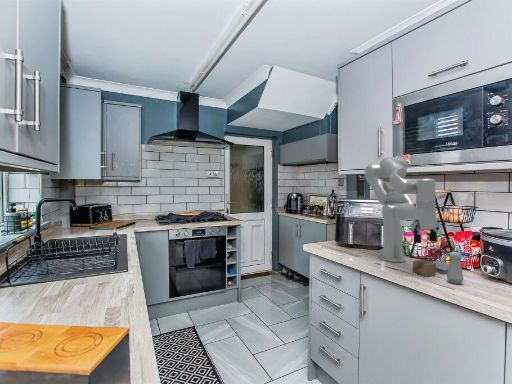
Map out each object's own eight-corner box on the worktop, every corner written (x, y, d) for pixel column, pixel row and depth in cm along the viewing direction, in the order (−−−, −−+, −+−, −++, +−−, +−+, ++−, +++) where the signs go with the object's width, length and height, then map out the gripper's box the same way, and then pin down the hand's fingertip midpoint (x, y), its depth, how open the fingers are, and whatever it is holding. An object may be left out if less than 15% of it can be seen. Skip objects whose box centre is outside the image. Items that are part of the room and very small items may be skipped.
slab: (420, 266, 136) (420, 263, 136) (437, 264, 140) (437, 260, 140) (444, 274, 124) (444, 270, 124) (462, 271, 128) (462, 267, 128)
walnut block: (412, 273, 126) (412, 260, 126) (422, 271, 129) (423, 259, 128) (425, 277, 120) (425, 264, 120) (435, 276, 122) (435, 263, 122)
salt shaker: (443, 281, 116) (444, 251, 115) (452, 279, 118) (452, 250, 117) (457, 286, 110) (458, 254, 110) (466, 284, 112) (467, 253, 112)
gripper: (431, 204, 130) (431, 239, 130) (404, 205, 124) (404, 241, 124) (446, 205, 123) (446, 242, 123) (418, 206, 117) (418, 244, 117)
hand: (425, 242), depth 123 cm, fingers open, 9 cm apart
